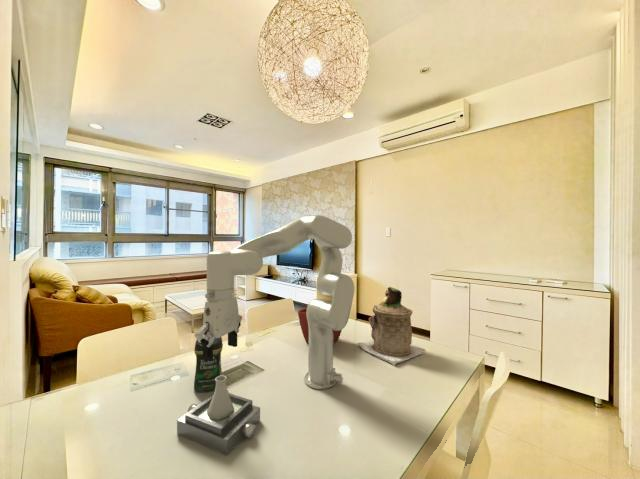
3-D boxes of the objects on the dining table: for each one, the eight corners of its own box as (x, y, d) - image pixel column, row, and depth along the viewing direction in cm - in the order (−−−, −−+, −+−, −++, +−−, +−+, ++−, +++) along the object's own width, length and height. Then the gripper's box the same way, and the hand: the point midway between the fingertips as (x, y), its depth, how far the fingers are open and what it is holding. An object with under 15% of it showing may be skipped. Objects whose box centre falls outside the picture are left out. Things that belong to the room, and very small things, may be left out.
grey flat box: (266, 422, 79) (266, 403, 79) (234, 458, 67) (234, 436, 66) (209, 403, 88) (209, 385, 88) (171, 431, 75) (171, 411, 75)
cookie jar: (428, 353, 128) (429, 287, 127) (393, 367, 114) (395, 293, 113) (388, 337, 148) (389, 280, 147) (355, 347, 134) (356, 284, 134)
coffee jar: (191, 395, 93) (192, 342, 92) (196, 382, 100) (196, 334, 100) (221, 391, 95) (221, 339, 95) (223, 379, 103) (223, 332, 103)
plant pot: (318, 332, 154) (318, 303, 154) (346, 340, 143) (347, 309, 142) (296, 343, 138) (296, 310, 138) (326, 352, 127) (327, 317, 127)
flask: (217, 424, 73) (218, 387, 72) (202, 414, 76) (202, 379, 76) (238, 409, 79) (239, 376, 78) (223, 401, 83) (223, 369, 82)
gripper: (207, 302, 67) (207, 368, 68) (250, 289, 83) (250, 343, 84) (185, 299, 70) (186, 363, 71) (231, 287, 86) (231, 339, 87)
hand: (220, 352), depth 77 cm, fingers open, 9 cm apart
